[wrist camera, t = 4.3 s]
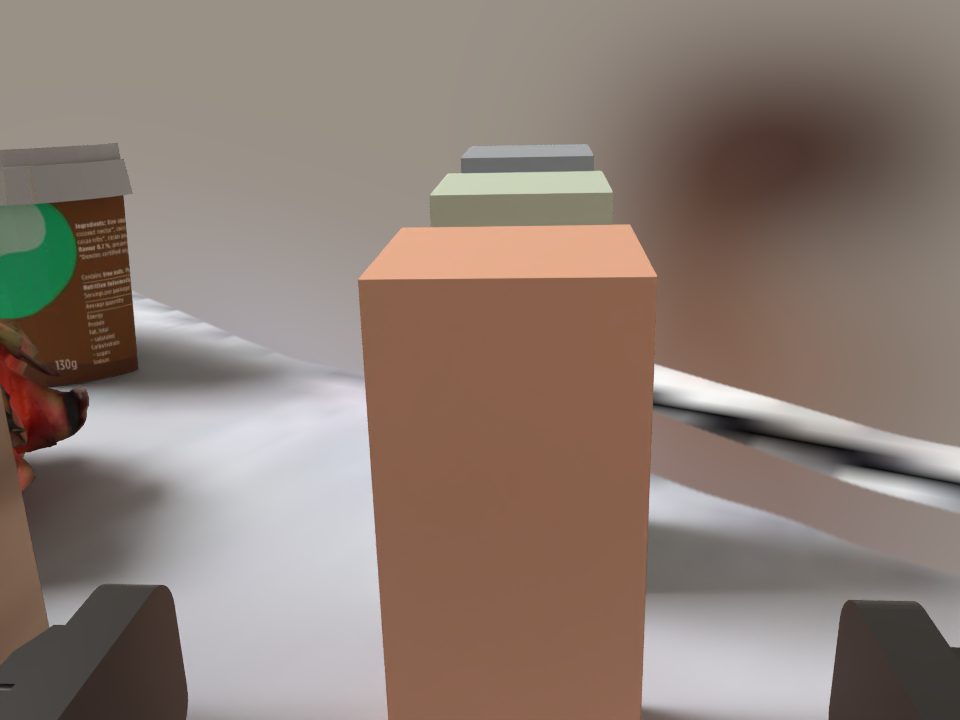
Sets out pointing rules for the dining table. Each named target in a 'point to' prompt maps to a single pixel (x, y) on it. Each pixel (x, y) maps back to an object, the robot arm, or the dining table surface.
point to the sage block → (522, 199)
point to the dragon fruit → (34, 401)
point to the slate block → (527, 159)
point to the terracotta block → (511, 468)
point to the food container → (68, 260)
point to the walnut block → (16, 558)
